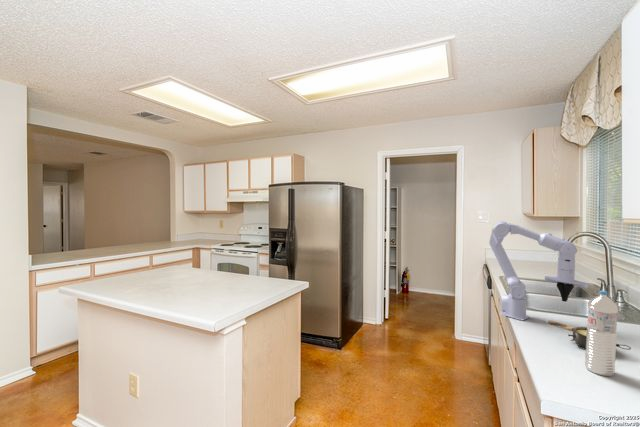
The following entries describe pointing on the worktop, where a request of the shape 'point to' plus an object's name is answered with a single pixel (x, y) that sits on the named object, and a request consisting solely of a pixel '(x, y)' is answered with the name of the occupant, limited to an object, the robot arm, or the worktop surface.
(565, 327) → the turner
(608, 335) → the water bottle
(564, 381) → the worktop surface
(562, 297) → the robot arm
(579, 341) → the alarm clock
